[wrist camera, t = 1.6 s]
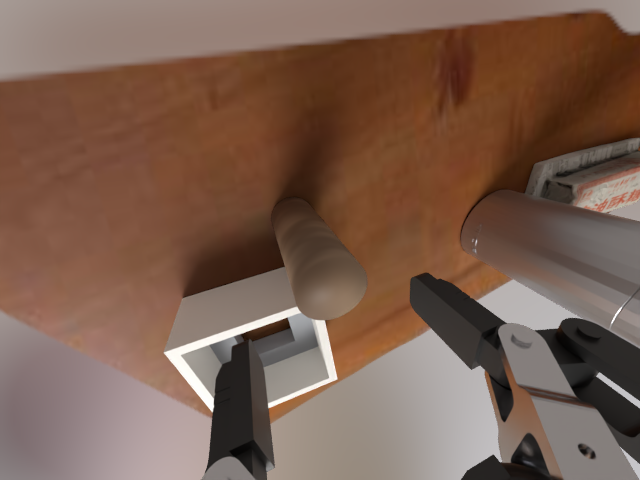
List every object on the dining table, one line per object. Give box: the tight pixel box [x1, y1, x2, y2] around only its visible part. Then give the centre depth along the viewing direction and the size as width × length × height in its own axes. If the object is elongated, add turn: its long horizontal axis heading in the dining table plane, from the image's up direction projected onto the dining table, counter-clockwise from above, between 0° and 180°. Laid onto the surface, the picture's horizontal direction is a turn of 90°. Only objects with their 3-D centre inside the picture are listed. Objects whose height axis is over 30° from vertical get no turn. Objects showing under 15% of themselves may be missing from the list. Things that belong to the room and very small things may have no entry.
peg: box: [271, 197, 367, 320], centre depth 16 cm, size 4×4×11 cm
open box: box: [164, 267, 337, 412], centre depth 23 cm, size 12×12×6 cm
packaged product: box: [525, 138, 640, 213], centre depth 30 cm, size 18×5×10 cm
